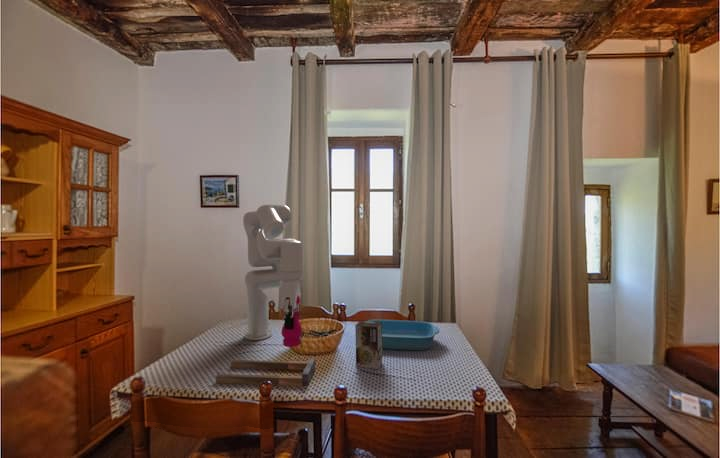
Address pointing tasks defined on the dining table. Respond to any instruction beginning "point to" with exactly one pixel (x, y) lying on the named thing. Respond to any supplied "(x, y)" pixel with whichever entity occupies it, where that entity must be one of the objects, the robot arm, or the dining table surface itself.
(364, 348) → the coffee box
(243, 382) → the guide channel
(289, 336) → the pepper mill
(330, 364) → the dining table surface
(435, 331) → the casserole dish
